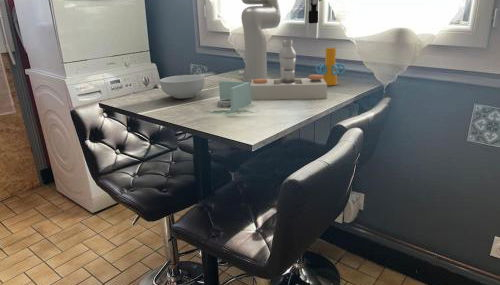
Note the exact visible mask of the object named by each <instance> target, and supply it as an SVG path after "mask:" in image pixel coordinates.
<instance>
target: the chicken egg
mask: <svg viewBox="0 0 500 285" xmlns="http://www.w3.org/2000/svg"><path fill="white" fill-rule="evenodd" d="M253 83H256V84H262V83H267V79H253Z"/></svg>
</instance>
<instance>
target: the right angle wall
mask: <svg viewBox="0 0 500 285" xmlns="http://www.w3.org/2000/svg"><path fill="white" fill-rule="evenodd" d="M218 88H219V99H218V100H217V101H216V102H217V103H216V106H217V108H221V110H218V111H220V112H221V111H222V112H229V113H231V112H232V113H235V112H237V111H239V110H241V109H243V108H245V107H247V106H249V105H251V104H252V100H251V82H245V81H234V80H219V81H218ZM228 108H230V110H229V109H228ZM222 109H226V110H222Z"/></svg>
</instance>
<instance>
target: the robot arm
mask: <svg viewBox="0 0 500 285" xmlns="http://www.w3.org/2000/svg"><path fill="white" fill-rule="evenodd" d="M322 1H323V0H306V2H308V23H309V24H317V23H319V2H322ZM241 2H242V3H243V4H245V5H251V6H248V7H246V8H244V9H243V10H242V12H241V16H240V18H241V24H242V28H243V36H244V61H245V63H244V64H245V69H244V70H239V71H238V75H239V76H243V77H242V82H252V80H253V79H271V76H269V75H268V72H267V71H268V70H267V69H268V66H267V65H268V63H267V38H266V35H265V33H264V32H263V30H266V29H267V30H268V29H269V30H270V29H271V30H272V29H276V28H278V27H279V25H280V23H281V20H282V19H281V17H282V16H281V9H280V5H279V1H278V0H241Z"/></svg>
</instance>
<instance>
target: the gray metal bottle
mask: <svg viewBox="0 0 500 285" xmlns="http://www.w3.org/2000/svg"><path fill="white" fill-rule="evenodd" d="M293 44H294V43H293V39H282V48H281V50H280V51H279V53H278V59H279V68H280V75H279V76H280V78H279V79H280V84H296V82H295V79H296V61H297V52H296V50H295V49H294V47H293Z"/></svg>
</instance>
